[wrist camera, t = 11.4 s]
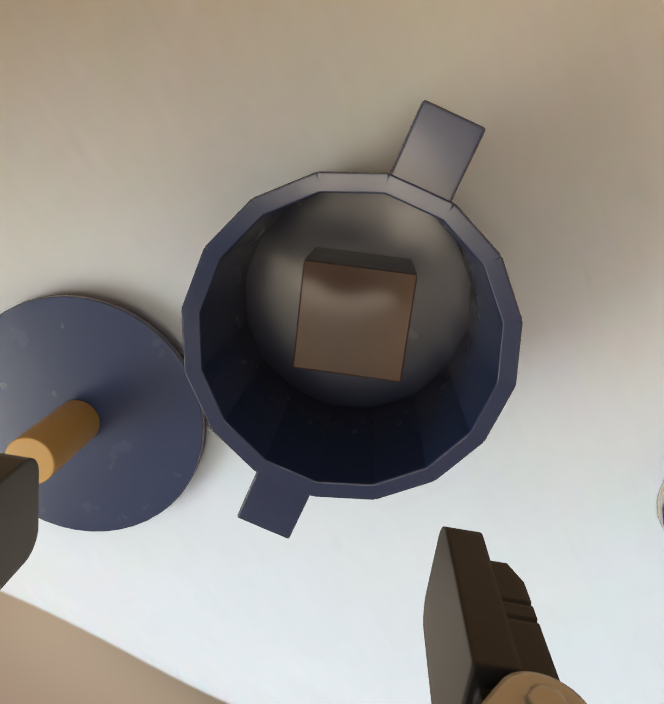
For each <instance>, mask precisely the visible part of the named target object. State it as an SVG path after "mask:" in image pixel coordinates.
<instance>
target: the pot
mask: <svg viewBox="0 0 664 704" xmlns="http://www.w3.org/2000/svg"><path fill="white" fill-rule="evenodd" d="M484 132H485V128H484V127H482V126H480V125H478V124H476V123H474V122H472V121H470V120H467V119H465V118H463V117H461V116H459V115H457V114H454V113H452V112H450V111H448V110H446V109H444V108H442V107H439V106H437V105H435V104H433V103H431V102H429V101H427V100H424V101H423V102H422V103H421V105H420V107H419V110H418V112H417V114H416V116H415V119H414V121H413V123H412V125H411V128H410V130H409V132H408V134H407V136H406V139H405V141H404V143H403V145H402V148H401V150H400V152H399V154H398V157H397V159H396V161H395V163H394V166H393V168H392V170H391V172H390V174H389V173H376V172H315V173H313V174H310V175H308V176H305V177H303V178H300V179H298V180H295V181H293V182H291V183H288V184H286V185H283V186H281V187H278V188H276V189H274V190H271V191H269V192H266V193H264V194H261V195H259V196H256V197H254V198H253V199H251V200H250V201H249V202H248V203H247V204H246V205H245V206H244V207H243V208H242V209H241V210H240V211H239V212H238V213H237V214H236V215H235V216H234V217H233V218H232V219H231V220H230V221H229V222H228V223H227V224H226V225H225V227H224V228H223V229H222V230H221V231H220V232H219V233H218V234H217V235H216V236H215V237H214V238H213V239H212V240H211V241H210V242H209V243H208V244H207V245H206V246H205V248H204V250H203V252H202V255H201V258H200V260H199V263H198V266H197V268H196V271H195V274H194V276H193V279H192V282H191V284H190V287H189V290H188V292H187V295H186V298H185V301H184V303H183V306H182V331H183V352H184V371H185V374H186V376H187V378H188V381H189V383H190V385H191V387H192V389H193V391H194V393H195V396H196V398H197V400H198V402H199V404H200V406H201V408H202V411H203V413H204V415H205V417H206V419H207V421H208V423H209V426H210V428H212V430H213V431H214V432H215V433H216V434H217V435H218V436H219V437H220V438H221V439H222V440H223V441H224V442H225V443H226V444H227V445H228V446H229V447H230V448H231V449H232V450H233V451H234V452H236V453H237V454H238V455H239V456H240V457H241V458H242V459H243V460H244V461H245V462H246V463H247V464H248V465H249V466H250V467H251V468H252V469H253V470H254V471H256V475H255V477H254V479H253V481H252V483H251V486H250V488H249V490H248V492H247V495H246V497H245V499H244V501H243V504H242V506H241V508H240V511H239V513H238V518H241V519H243V520H245V521H248V522H250V523H252V524H255V525H257V526H259V527H262V528H264V529H267V530H269V531H271V532H274V533H276V534H278V535H281V536H283V537H285V538H289V537H290V535H291V533H292V531H293V529H294V527H295V525H296V523H297V521H298V519H299V517H300V514H301V512H302V510H303V508H304V506H305V504H306V502H307V500H308V498H309V496H310V495H311V496H316V497H335V498H353V499H372V500H374V499H378V498H382V497H385V496H388V495H391V494H394V493H398V492H401V491H404V490H407V489H410V488H414V487H417V486H420V485H423V484H426V483H430V482H433V481H434V480H437V479H438V478H439V477H440V476H442V475H443V474H444V473H445V472H447V471H448V470H449V469H450V468H452V467H453V466H454V465H455V464H457V463H458V462H459V461H460V460H462V459H463V458H464V457H465V456H467V455H468V454H469V453H471V452H472V451H473V450H474V449H476V448H477V447H478V446H479V445H481V444H482V443H483V441H485V439H486V438H487V436H488V434H489V432H490V431H491V429H492V427H493V425H494V423H495V422H496V420H497V418H498V416H499V415H500V413H501V411H502V409H503V407H504V406H505V404H506V402H507V400H508V398H509V397H510V395H511V393H512V391H513V390H514V388H515V385H516V379H517V369H518V360H519V350H520V341H521V331H522V317H521V314H520V311H519V308H518V305H517V302H516V299H515V296H514V293H513V289H512V286H511V283H510V280H509V277H508V274H507V271H506V268H505V265H504V261H503V258H502V257H501V255H500V253H499V252H498V251H497V250H496V249H495V248H494V247H493V245H492V244H491V243H490V242H489V241H488V240H487V239H486V238H485V237H484V235H483V234H482V233H481V232H480V231H479V230H478V229H477V228H476V226H475V225H474V224H473V223H472V222H471V221H470V220H469V219H468V217H467V216H466V215H465V214H464V213H463V212H462V211H461V210H460V208H459V207H458V206H457V205H455V204H454V203H453V202H451V201H452V199H453V197H454V195H455V192H456V190H457V188H458V186H459V184H460V182H461V180H462V178H463V176H464V174H465V172H466V170H467V168H468V165H469V163H470V161H471V159H472V157H473V155H474V153H475V151H476V149H477V147H478V145H479V143H480V141H481V139H482V136H483V134H484ZM315 247H321V248H328V249H336V250H344V251H352V252H359V253H367V254H375V255H382V256H390V257H398V258H406V259H411V260H412V262H413V265H414V267H415V270H416V273H417V281H416V288H415V294H414V300H413V306H412V313H411V319H410V325H409V332H408V338H407V344H406V350H405V357H404V363H403V369H402V376H401V381H400V382H397V381H389V380H382V379H375V378H368V377H360V376H353V375H346V374H338V373H331V372H324V371H316V370H309V369H302V368H295V367H293V359H294V350H295V341H296V331H297V322H298V313H299V303H300V294H301V285H302V275H303V266H304V260H305V259H306V258H307V257H308V255H309V254H310V253H311V252H312V251H313V250H314V248H315Z"/></svg>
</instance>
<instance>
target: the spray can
mask: <svg viewBox="0 0 664 704" xmlns="http://www.w3.org/2000/svg"><path fill="white" fill-rule="evenodd" d="M657 510H658V517H659V519H660V522H661V525H662V527H663V530H664V483H663V485H662V487H661V488H660V492H659V496H658V500H657Z"/></svg>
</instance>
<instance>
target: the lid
mask: <svg viewBox="0 0 664 704" xmlns="http://www.w3.org/2000/svg"><path fill="white" fill-rule="evenodd" d="M204 435H205V420H204V413H203V411H202V408H201V406H200V404H199V402H198V400H197V398H196V396H195V393H194V391H193V389H192V387H191V385H190V383H189V381H188V378H187V376H186V374H185V371H184V360H183V358H182V357H181V355H180V354H179V353H178V351H177V350H176V348H175V347H174V346H173V345H172V344H171V343H170V342H169V341H168V340H167V339H166V337H165V336H164V335H163V334H161V333H160V332H159V331H158V330H157V329H156V328H154V327H153V326H152V325H151V324H150V323H148V322H147V321H145V320H144V319H142V318H141V317H139V316H138V315H136V314H134V313H132V312H130V311H128V310H126V309H125V308H123V307H121V306H118V305H115V304H113V303H110V302H107V301H104V300H100V299H96V298H92V297H87V296H77V295H53V296H47V297H41V298H37V299H34V300H31V301H27V302H24V303H21V304H19V305H17V306H15V307H13V308H11V309H9V310H7V311H5V312H3V313H2V314H1V315H0V453H5V454H11V455H17V456H23V457H29V458H34V459H35V460H36V461H37V463H38V466H39V508H38V518H40V519H42V520H44V521H47V522H50V523H53V524H56V525H58V526H62V527H66V528H70V529H75V530H83V531H111V530H119V529H123V528H127V527H131V526H135V525H137V524H140V523H142V522H144V521H147V520H149V519H151V518H152V517H154V516H156V515H158V514H159V513H161V512H162V511H163V510H165V509H166V508H167V507H168V506H170V505H171V504H172V503H173V502H174V501H175V500H176V499H177V498H178V497H179V496H180V495H181V493H182V492H183V490H184V489H185V488H186V486H187V485H188V483H189V482H190V480H191V478H192V476H193V474H194V472H195V470H196V468H197V466H198V463H199V460H200V457H201V454H202V449H203V444H204Z"/></svg>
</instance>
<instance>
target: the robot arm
mask: <svg viewBox="0 0 664 704" xmlns="http://www.w3.org/2000/svg"><path fill="white" fill-rule="evenodd" d="M38 508H39V466H38V463H37V461H36V460H35V459H34V458H29V457H23V456H17V455H11V454H5V453H0V589H1V588H2V587H3V586H4V585H5V584H6V583H7V582H8V580H9V579H10V578H11V577H12V576H13V575H14V574H15V573H16V572H17V570H18V569H19V568H20V567H21V566H22V565H23V564H24V563H25V561H26V560H27V559H28V557H29V556H30V554H31V552H32V550H33V547H34V545H35V542H36V538H37V533H38ZM423 628H424V638H425V647H426V657H427V666H428V675H429V684H430V694H431V703H432V704H587V703H586V702H585V701H584V700H583V699H582V698H581V697H580V696H579V695H578V694H577V693H576V692H575V691H574V690H573V689H571V688H570V687H568V686H567V685H565V684H564V683H562V682H560V680H559V677H558V675H557V672H556V669H555V666H554V664H553V661H552V658H551V655H550V653H549V650H548V647H547V644H546V642H545V639H544V636H543V633H542V631H541V628H540V625H539V624H538V623H537V617H536V614H535V611H534V609H533V607H532V606H531V600H530V598H529V595H528V592H527V589H526V587H525V584H524V582H523V581H522V580H521V579H520V578H519V576H518V575H517V574H516V573H515V572H514V571H513V570H512V569H511V568H510V566H509V565H508V564H507V563H501V562H495V561H490V558H489V555H488V551H487V548H486V545H485V541H484V538H483V535H482V533H480V532H474V531H468V530H462V529H456V528H450V527H442V529H441V531H440V534H439V538H438V542H437V546H436V551H435V555H434V560H433V564H432V569H431V573H430V578H429V582H428V587H427V591H426V597H425V603H424V615H423Z"/></svg>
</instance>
